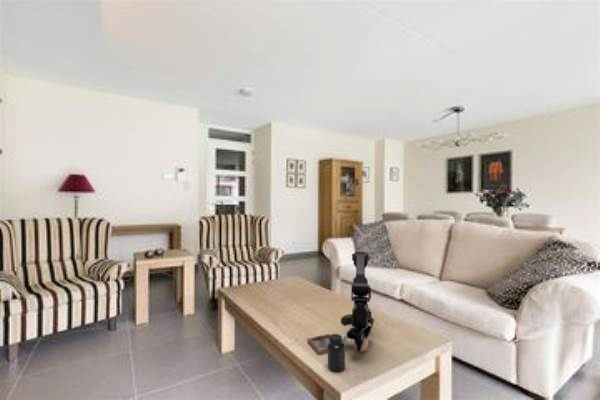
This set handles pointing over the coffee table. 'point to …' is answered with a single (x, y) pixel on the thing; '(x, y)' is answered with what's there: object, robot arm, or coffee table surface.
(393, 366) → the coffee table surface
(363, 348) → the ball
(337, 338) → the supplement bottle
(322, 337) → the walnut tray
